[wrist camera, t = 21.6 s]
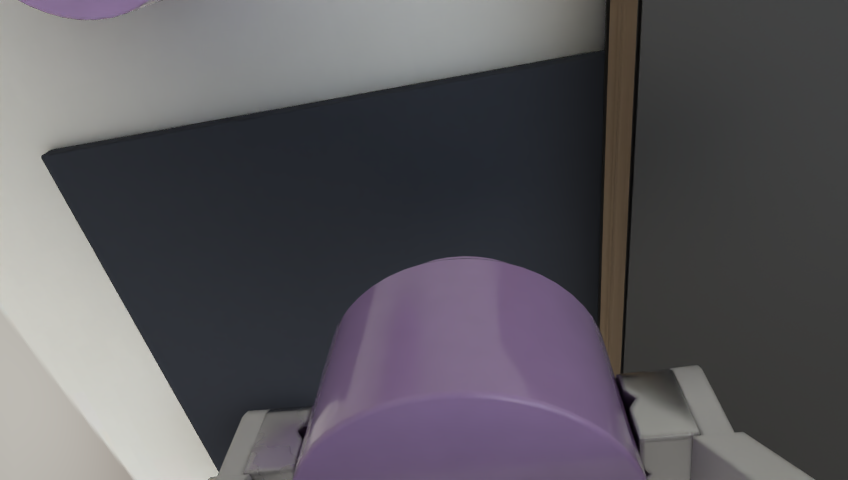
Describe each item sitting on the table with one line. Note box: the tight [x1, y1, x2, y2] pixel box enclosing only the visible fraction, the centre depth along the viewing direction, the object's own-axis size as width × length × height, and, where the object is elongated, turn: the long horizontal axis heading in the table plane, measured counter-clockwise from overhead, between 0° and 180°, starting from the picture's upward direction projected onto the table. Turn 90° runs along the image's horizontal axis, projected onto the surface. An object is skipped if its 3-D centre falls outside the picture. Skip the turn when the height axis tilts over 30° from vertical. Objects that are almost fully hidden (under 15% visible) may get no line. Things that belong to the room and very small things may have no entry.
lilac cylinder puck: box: [292, 256, 647, 480], centre depth 12 cm, size 6×6×5 cm
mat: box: [41, 50, 605, 471], centre depth 25 cm, size 20×26×1 cm
